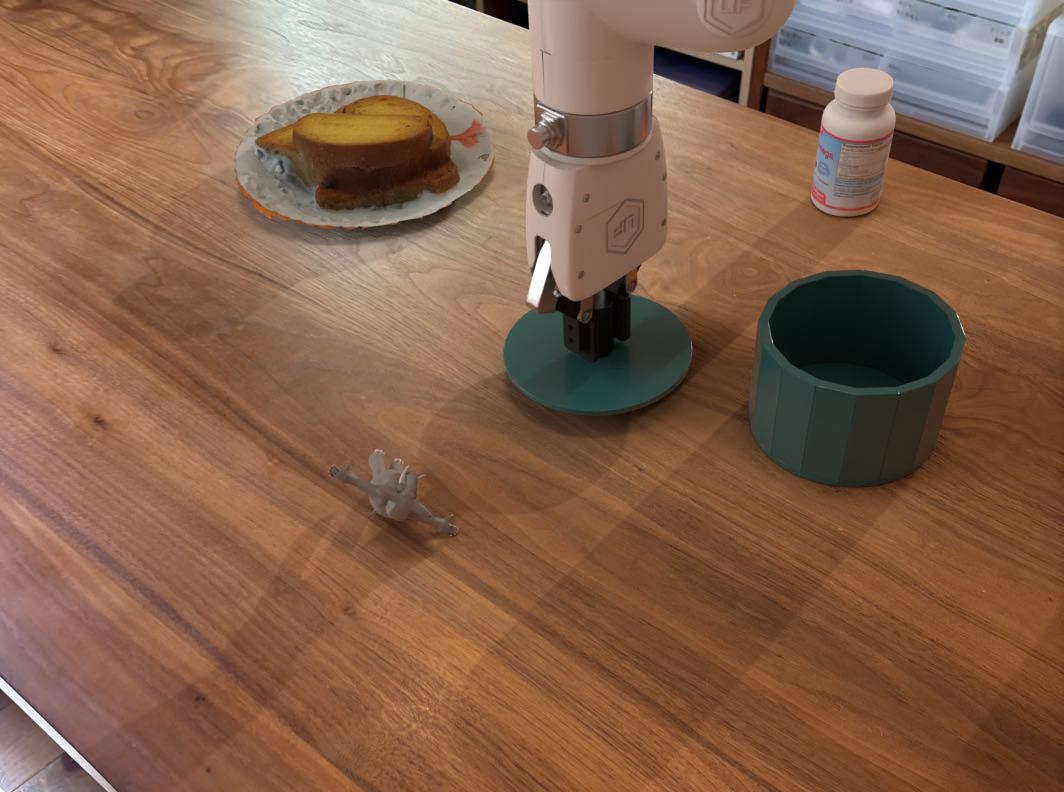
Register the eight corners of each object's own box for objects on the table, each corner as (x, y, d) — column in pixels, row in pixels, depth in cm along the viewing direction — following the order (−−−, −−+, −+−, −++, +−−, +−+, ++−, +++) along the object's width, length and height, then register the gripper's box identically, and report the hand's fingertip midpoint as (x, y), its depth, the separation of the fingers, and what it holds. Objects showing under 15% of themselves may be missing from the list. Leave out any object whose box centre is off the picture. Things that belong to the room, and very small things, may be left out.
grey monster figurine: (464, 461, 81) (486, 513, 73) (422, 526, 83) (438, 584, 75) (344, 397, 77) (353, 444, 69) (303, 467, 79) (306, 521, 71)
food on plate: (448, 86, 119) (441, 24, 114) (535, 199, 104) (532, 134, 99) (216, 143, 114) (198, 82, 109) (271, 272, 99) (253, 207, 94)
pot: (821, 339, 88) (837, 247, 81) (974, 417, 81) (1004, 323, 74) (711, 425, 82) (718, 333, 76) (864, 516, 75) (887, 424, 69)
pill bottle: (809, 182, 102) (825, 62, 94) (877, 183, 102) (900, 62, 93) (810, 219, 99) (828, 97, 90) (881, 220, 98) (906, 98, 89)
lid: (595, 279, 92) (594, 220, 88) (730, 354, 85) (736, 293, 81) (466, 362, 86) (458, 303, 82) (600, 450, 79) (599, 390, 75)
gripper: (543, 187, 65) (556, 419, 79) (721, 84, 72) (704, 314, 86) (459, 145, 69) (485, 373, 83) (636, 51, 76) (633, 276, 90)
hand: (597, 341), depth 84 cm, fingers closed on lid, 2 cm apart
